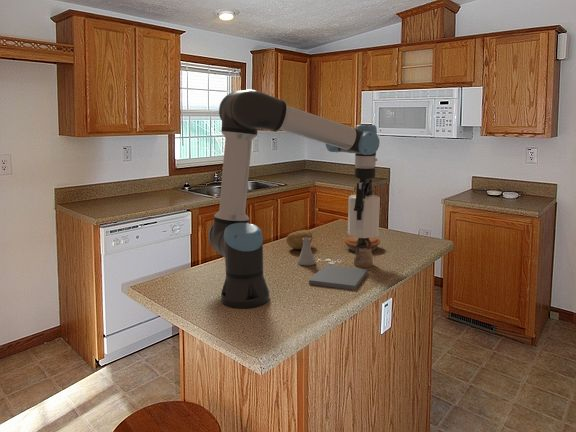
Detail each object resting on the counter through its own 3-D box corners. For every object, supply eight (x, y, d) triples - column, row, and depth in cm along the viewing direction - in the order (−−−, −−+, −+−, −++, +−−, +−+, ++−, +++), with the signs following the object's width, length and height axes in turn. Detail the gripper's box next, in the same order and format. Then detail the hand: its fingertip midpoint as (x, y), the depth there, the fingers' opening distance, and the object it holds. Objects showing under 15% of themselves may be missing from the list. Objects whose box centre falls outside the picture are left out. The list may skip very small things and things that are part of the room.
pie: (356, 242, 219) (356, 231, 218) (386, 247, 209) (387, 236, 208) (336, 249, 207) (337, 238, 206) (368, 256, 197) (368, 244, 196)
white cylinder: (374, 239, 176) (375, 199, 173) (344, 236, 180) (345, 198, 177) (380, 232, 186) (382, 195, 183) (352, 230, 190) (353, 193, 187)
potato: (318, 246, 212) (318, 229, 210) (299, 254, 201) (299, 235, 199) (301, 243, 218) (300, 226, 216) (281, 250, 207) (281, 232, 205)
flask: (314, 266, 184) (314, 241, 182) (295, 265, 186) (295, 240, 184) (317, 261, 191) (317, 236, 189) (299, 260, 192) (299, 236, 190)
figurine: (361, 260, 191) (362, 231, 188) (376, 264, 186) (377, 234, 183) (350, 264, 186) (350, 234, 183) (365, 268, 181) (365, 237, 178)
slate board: (354, 290, 159) (354, 285, 159) (309, 284, 165) (309, 280, 165) (367, 273, 175) (367, 269, 175) (325, 268, 181) (325, 264, 181)
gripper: (367, 170, 166) (365, 232, 170) (382, 164, 187) (379, 219, 192) (346, 169, 169) (345, 230, 173) (363, 164, 190) (361, 218, 195)
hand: (363, 225), depth 182 cm, fingers closed on white cylinder, 11 cm apart
